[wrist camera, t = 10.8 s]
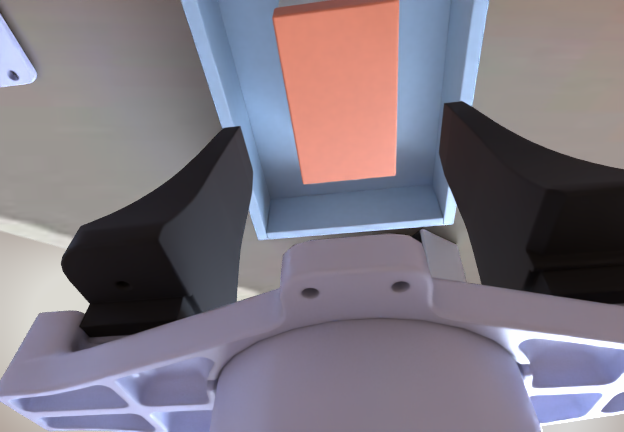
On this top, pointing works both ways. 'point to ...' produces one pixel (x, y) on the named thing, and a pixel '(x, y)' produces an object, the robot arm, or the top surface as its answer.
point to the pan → (279, 133)
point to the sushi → (341, 85)
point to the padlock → (441, 256)
